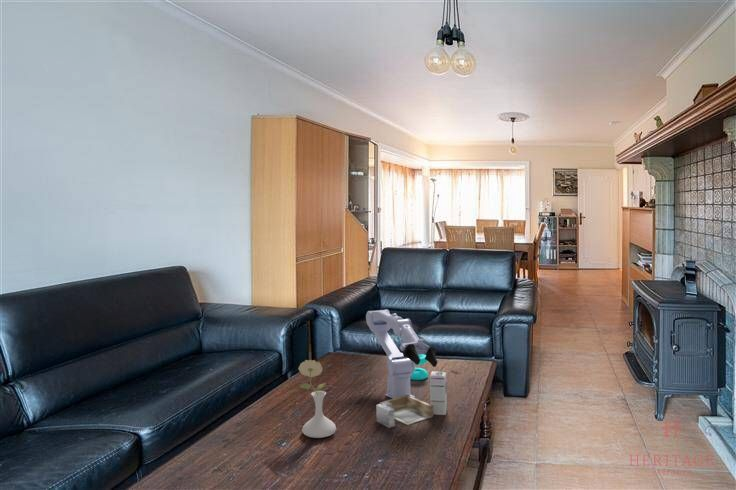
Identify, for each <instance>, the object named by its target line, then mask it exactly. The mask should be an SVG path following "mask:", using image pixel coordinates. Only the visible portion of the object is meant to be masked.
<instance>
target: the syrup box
mask: <svg viewBox="0 0 736 490" xmlns="http://www.w3.org/2000/svg"><path fill="white" fill-rule="evenodd" d="M429 374H430V375H429V400H430V401H429V404H430V405H432V406H433V415H436V416H446V415H447V413H448V412H447V411H448V401H447V400H448V397H447V396H448V394H447V393H448V392H447V372H446V371H439V370H438V371H437V370H435V371H431V372H430V373H429Z"/></svg>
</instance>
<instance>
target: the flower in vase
mask: <svg viewBox="0 0 736 490" xmlns="http://www.w3.org/2000/svg"><path fill="white" fill-rule="evenodd" d="M299 364H300V365H299V366H298V368H297V369H298V371H299V372H300V374H301V375H303V376H305V377H309V383H307V382H305V383H302V384H301V385H300V386H299V388H300V389H301V388H302V389H307V390H309V389H310V388H311V387H312V390H313V391H312V392H311V393H310V396H311V397H312V398H313V401H314V405H315V412H314V413H315V414H314V415H313V417H312V418H310V419H309V420H308V421H307V422H306V423H305V424H304V425H303V427H302V429H301V432H302V433H303V434H304V435H305V436H306V437H309V438H313V439H323V438H326V437H329V436H331V435H333V434H334V433H335V432H336V430H337V427H336V424H335V422H333V421H332V420H331V419H329V418H328V417H326V416H325V415H324V413H323V403H324V398H325V396H326V395H327V392H326V391H323V390H321V389H323V388H324V387H325V385H326V384H327V382H324V383H320V384H318V385H317V387H316V388H315V387H314V385H313V384H312V378H314V377H318V376H320V375H321V374H322V371H323V370H324V369H323V366H322V364H321V363H320V361H316V360H315V359H313V360H312V359H309V360H308V359H305V360H304V361H302V362H301V363H299Z"/></svg>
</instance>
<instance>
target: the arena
mask: <svg viewBox="0 0 736 490" xmlns="http://www.w3.org/2000/svg"><path fill="white" fill-rule="evenodd" d="M384 402H389V403H392V408H393V409H394V417H395V421H397V422H399V423H401V424H404V425H405V426H407V427H408V426H411V425H414V424H416V423H419V422H422V421H425V420H428V419H431V418H433V417H434V414H433V406H432V405H430V403H428V402H425V401H422V400H420V399H418V398H417V397H415V398H413V397H411V396H409V395H404V396H401V397H397V398H394V399H393V398H391V399H390V398H389V399H387V400H384V401H380V402H379V404H381V403H384Z"/></svg>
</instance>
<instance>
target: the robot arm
mask: <svg viewBox="0 0 736 490" xmlns="http://www.w3.org/2000/svg"><path fill="white" fill-rule="evenodd" d="M365 320H366V321H365V322H366V324H367V326H368V328H369V330H370V331H371V332H372V333H373V334H374V335H375V338H376V339H377V341H378V342H379V344H380V346H381V347H382V349H383V350H384V352H385V353H386V356H387V359H386V363H385V364H386V368H387V371H388V374H389V375H388V376H387V379H386V380H387V381H386V387H387V388H386V389H387V390H386V392H387V393H386V394H385V396H386V397H389V399H390V398H391V399H394V398H397V397H401V396H404V395H409V396H411V397H413V398H416V396H415V395H414V394H413V395H412V394H411V379H410V376H412V373H413V372H414V370H415V368H416V366H419V365H418V364H419V362H420V358H419V356H418V355H421V354H424V355H426V357H425V360H427V362H428V363H429V364H430V365H431V366H432V367H433V368H435V367H437V365H438V360H437V356H436V348H435V347H434V346H429V345H428V344H426V343H424V339H421V338H419V336H418V335H417V333H416V332H415V330H414V328H413V322H412V321H411V319H410V318H407V317H406V318H405V319H404V318H402V316H398V314H397V313H392V314H391V313H390V310H389V309H387V308H385V309H379V310H378V309H377V310H368V311H367V312H366V314H365ZM391 329H392V330H393V333H394V335H396V336H398V338H401V340H402V341H403V343H400V346H399V348H398V346H397V344H395V342H394V340H393V339H392V337H391V335H390V334H389V333H388V331H390V330H391ZM414 363H415V364H417V365H415V364H414Z"/></svg>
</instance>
